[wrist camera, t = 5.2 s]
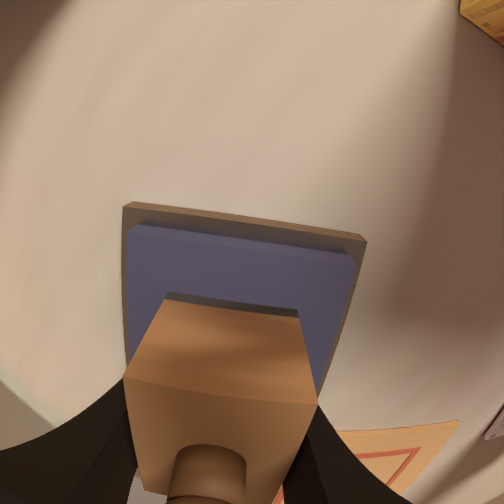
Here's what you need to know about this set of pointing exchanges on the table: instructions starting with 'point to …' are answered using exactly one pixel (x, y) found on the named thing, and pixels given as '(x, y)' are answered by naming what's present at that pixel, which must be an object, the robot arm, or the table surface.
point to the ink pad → (239, 270)
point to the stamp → (219, 400)
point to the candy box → (486, 16)
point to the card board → (395, 452)
